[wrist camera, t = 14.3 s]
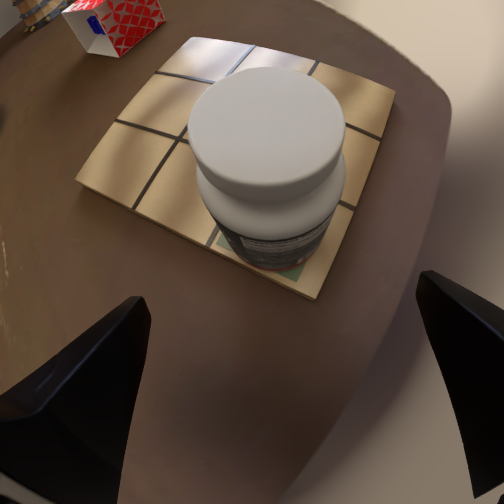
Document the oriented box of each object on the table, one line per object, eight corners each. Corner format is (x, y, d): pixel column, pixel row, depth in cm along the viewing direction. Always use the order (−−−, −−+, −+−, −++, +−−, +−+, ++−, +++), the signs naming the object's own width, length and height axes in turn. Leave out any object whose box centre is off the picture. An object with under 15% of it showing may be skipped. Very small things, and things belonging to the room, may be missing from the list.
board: (392, 100, 21) (396, 90, 19) (313, 301, 17) (315, 299, 16) (194, 44, 25) (191, 35, 23) (82, 185, 21) (73, 179, 20)
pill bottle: (222, 189, 18) (173, 71, 9) (313, 176, 18) (333, 50, 8) (231, 280, 17) (169, 218, 7) (331, 266, 17) (390, 188, 7)
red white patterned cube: (165, 20, 27) (147, -27, 19) (119, 58, 26) (92, 9, 18) (128, 18, 29) (109, -22, 21) (86, 52, 27) (61, 12, 20)
